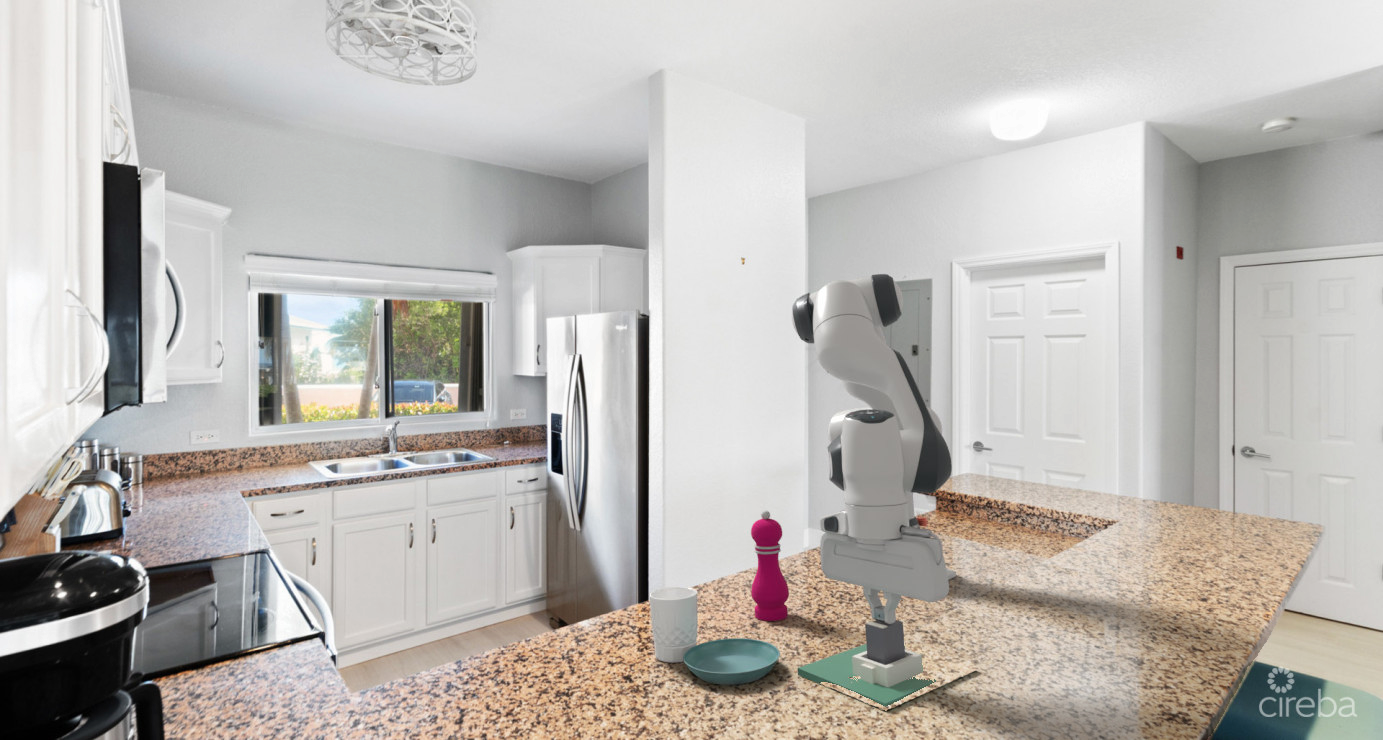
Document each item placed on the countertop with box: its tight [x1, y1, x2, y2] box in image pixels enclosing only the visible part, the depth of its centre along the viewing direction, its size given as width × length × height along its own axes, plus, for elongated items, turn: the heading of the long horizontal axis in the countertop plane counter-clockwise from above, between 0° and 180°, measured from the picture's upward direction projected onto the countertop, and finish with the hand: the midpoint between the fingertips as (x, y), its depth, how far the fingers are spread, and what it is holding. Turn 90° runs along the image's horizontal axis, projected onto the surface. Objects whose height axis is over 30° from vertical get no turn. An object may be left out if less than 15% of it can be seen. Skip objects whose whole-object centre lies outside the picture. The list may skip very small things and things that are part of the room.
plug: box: [864, 619, 905, 665], centre depth 93 cm, size 4×3×7 cm, turn 125°
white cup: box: [649, 586, 699, 664], centre depth 107 cm, size 8×8×10 cm
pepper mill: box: [750, 510, 790, 622], centre depth 126 cm, size 7×7×20 cm
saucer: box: [683, 637, 781, 686], centre depth 99 cm, size 15×15×3 cm
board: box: [796, 643, 936, 707], centre depth 95 cm, size 20×16×4 cm
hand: (883, 620), depth 93 cm, fingers closed
